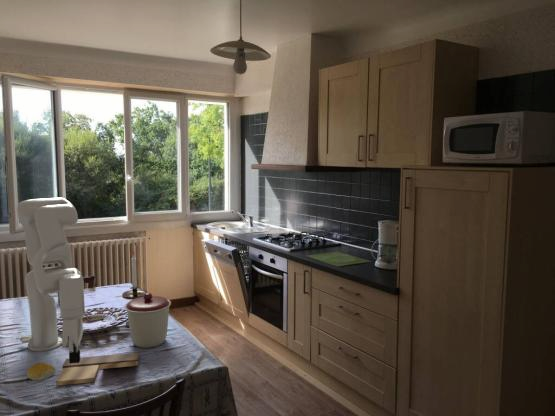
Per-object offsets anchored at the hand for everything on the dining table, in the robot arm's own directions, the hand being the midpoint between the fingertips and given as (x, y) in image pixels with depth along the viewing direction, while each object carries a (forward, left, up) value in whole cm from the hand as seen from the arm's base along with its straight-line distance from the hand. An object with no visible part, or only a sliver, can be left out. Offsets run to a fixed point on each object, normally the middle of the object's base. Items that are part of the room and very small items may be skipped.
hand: (74, 361), depth 159 cm
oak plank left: (0, +2, -7) cm, 7 cm away
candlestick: (+16, +49, -7) cm, 52 cm away
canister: (+23, +27, -7) cm, 36 cm away
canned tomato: (-22, +89, -7) cm, 92 cm away
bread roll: (-13, +7, -7) cm, 17 cm away
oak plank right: (+14, +3, -5) cm, 15 cm away
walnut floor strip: (+7, +11, -7) cm, 15 cm away
